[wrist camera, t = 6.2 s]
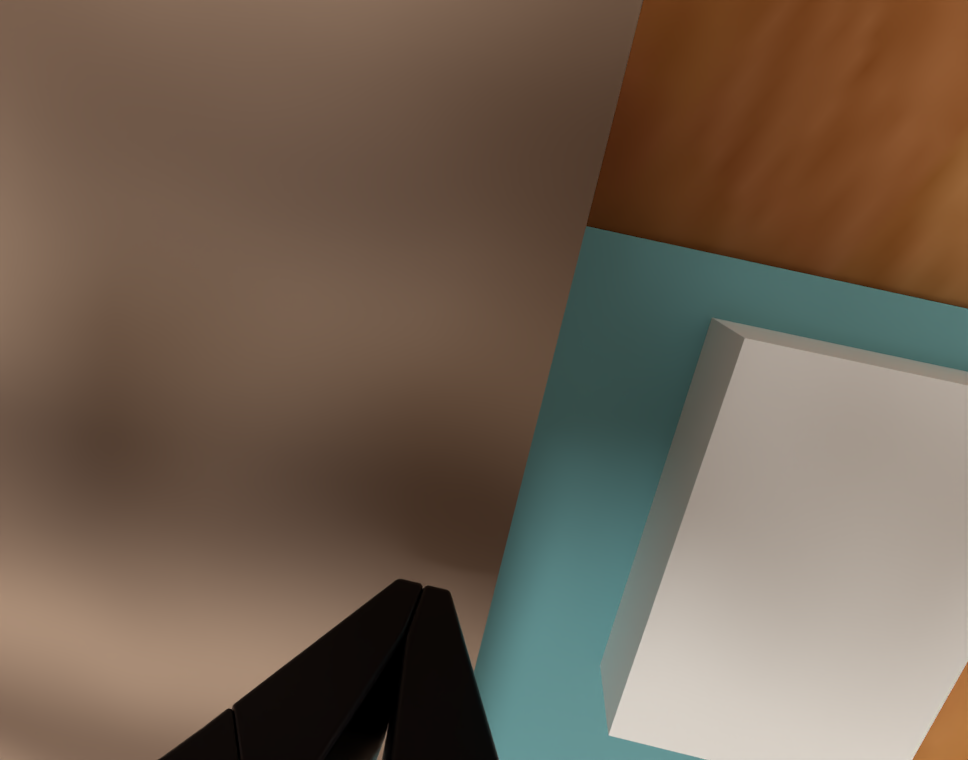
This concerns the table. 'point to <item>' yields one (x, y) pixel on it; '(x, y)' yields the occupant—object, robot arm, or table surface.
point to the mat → (637, 461)
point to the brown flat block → (269, 329)
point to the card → (799, 558)
